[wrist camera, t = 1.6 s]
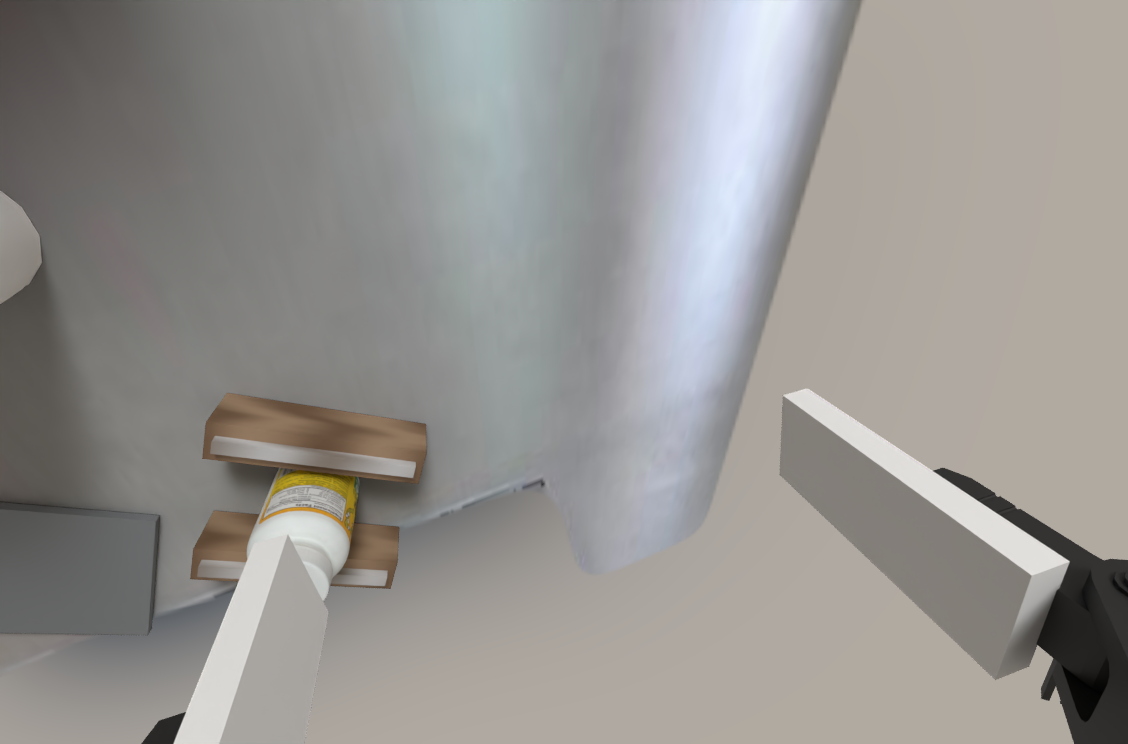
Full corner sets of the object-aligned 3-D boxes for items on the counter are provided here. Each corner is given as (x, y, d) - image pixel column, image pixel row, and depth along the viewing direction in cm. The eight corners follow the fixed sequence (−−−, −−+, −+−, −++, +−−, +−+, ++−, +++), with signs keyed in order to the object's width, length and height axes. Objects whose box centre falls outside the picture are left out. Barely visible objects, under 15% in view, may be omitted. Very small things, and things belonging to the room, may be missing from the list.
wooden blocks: (210, 539, 36) (186, 586, 32) (227, 392, 32) (202, 427, 28) (392, 552, 40) (390, 595, 36) (425, 424, 36) (426, 457, 32)
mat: (-33, 624, 34) (-40, 632, 33) (-44, 498, 31) (-52, 505, 30) (151, 628, 37) (148, 635, 37) (159, 515, 34) (155, 521, 33)
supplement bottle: (302, 434, 34) (264, 534, 26) (376, 469, 36) (363, 571, 28) (259, 493, 35) (209, 608, 27) (334, 523, 37) (309, 638, 29)
